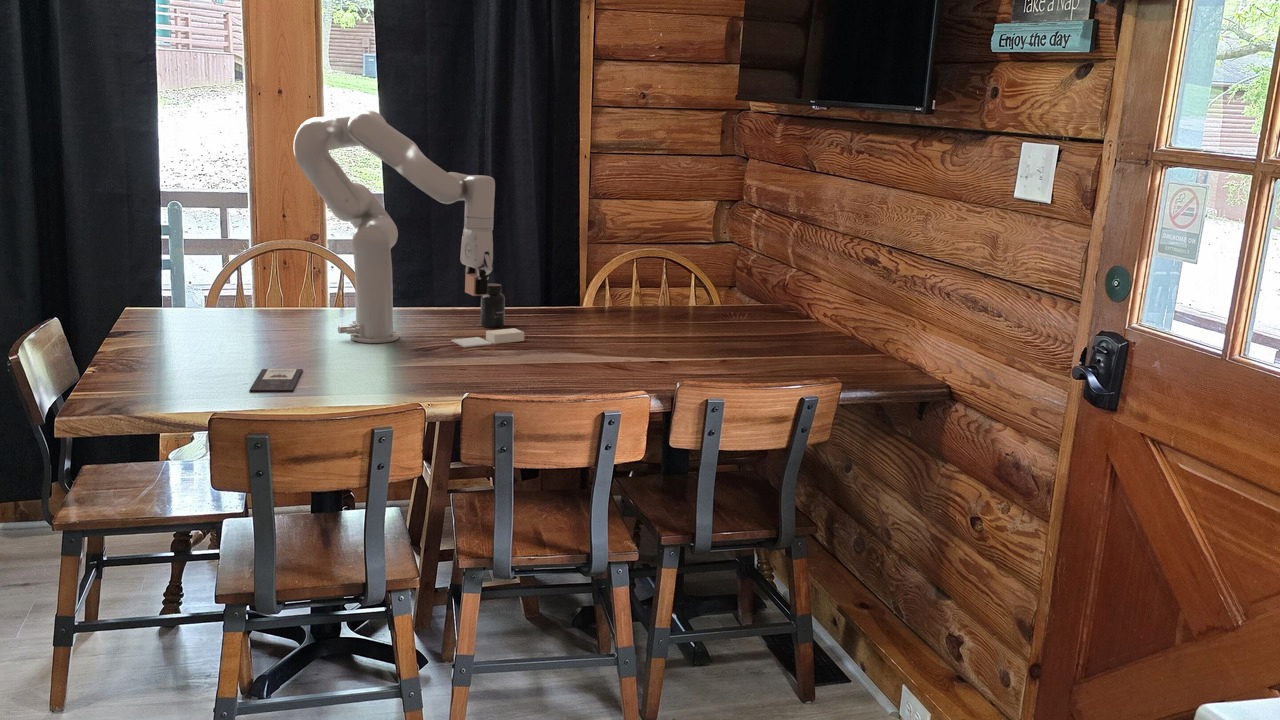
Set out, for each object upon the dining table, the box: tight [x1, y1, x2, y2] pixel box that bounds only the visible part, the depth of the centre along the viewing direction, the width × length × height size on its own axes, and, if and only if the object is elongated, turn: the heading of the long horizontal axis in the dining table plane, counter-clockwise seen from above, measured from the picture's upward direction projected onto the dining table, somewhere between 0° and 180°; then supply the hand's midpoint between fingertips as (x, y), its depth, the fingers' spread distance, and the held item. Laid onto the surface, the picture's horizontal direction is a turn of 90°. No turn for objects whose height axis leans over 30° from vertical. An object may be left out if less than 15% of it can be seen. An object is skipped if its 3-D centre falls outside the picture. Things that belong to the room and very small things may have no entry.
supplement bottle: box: [480, 283, 506, 329], centre depth 301 cm, size 7×7×12 cm
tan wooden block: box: [464, 272, 488, 297], centre depth 278 cm, size 4×5×5 cm
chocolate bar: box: [249, 368, 304, 394], centre depth 236 cm, size 9×1×18 cm
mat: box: [451, 336, 493, 348], centre depth 280 cm, size 8×8×1 cm
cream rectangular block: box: [485, 327, 525, 345], centre depth 285 cm, size 9×5×3 cm, turn 125°
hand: (476, 291), depth 278 cm, fingers closed on tan wooden block, 5 cm apart
